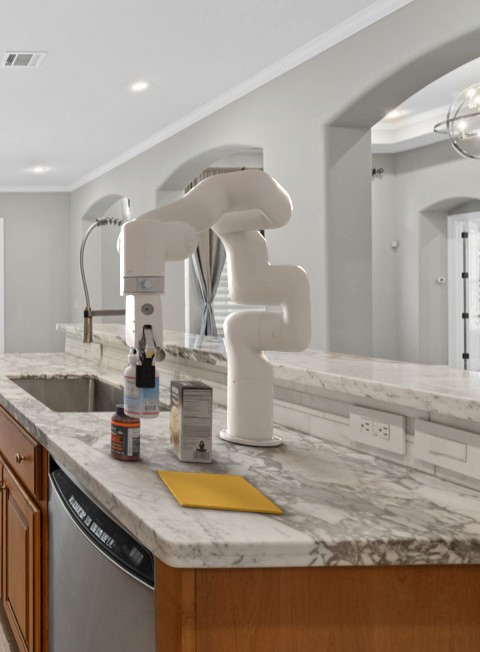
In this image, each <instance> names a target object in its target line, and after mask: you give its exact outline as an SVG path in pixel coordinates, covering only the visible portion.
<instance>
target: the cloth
mask: <svg viewBox="0 0 480 652" xmlns="http://www.w3.org/2000/svg"><path fill="white" fill-rule="evenodd" d="M156 473H157V474H158V476H159V477H160V478H161V480H162V481H163V482H164V484H165V485H166V487H167V488H168V489H169V490H170V492H171V493H172V495H173V496H174V497H175V499H176V500H177V502H178V503H179V505H180V506H181V507H189V508H200V509H201V508H202V509H213V510H226V511H227V510H228V511H238V512H248V513H249V512H251V513H262V514H276V515H277V514H278V515H284V511H282V509H280V508H279V507H278V506H277V505H276V504H275V503H274V502H272V501H271V500H270V499H268V498H267V497H266V496H265V495H264V494H263V493H261V492H260V491H259V490H258V489H257V488H255V487H254V486H253V485H252V484H251V483H250V482H249V481H248V480H246V479H245V478H244V477H243V476H241V475H234V474H219V473H203V472H191V471H175V470H173V471H172V470H162V469H161V470H159V469H157V470H156Z"/></svg>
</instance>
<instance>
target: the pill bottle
mask: <svg viewBox="0 0 480 652" xmlns="http://www.w3.org/2000/svg"><path fill="white" fill-rule="evenodd" d="M141 357H142V354H141ZM127 363H128V366H127V367H125V368H124V370H123V404H124V413H125V414H126V415H127V416H130V417H134V418H140V419H143V420H145V419H146V420H147V419H150V420H151V419H156V418H158V417H159V416H160V372H159V370H158V369H157V368H156V367H155V388H137V387H136V385H135V374H136V365H138V364H137V354H131V355H129V354H127Z"/></svg>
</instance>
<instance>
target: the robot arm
mask: <svg viewBox="0 0 480 652" xmlns="http://www.w3.org/2000/svg"><path fill="white" fill-rule="evenodd" d="M292 215H293V202H292V200H291V197H290V195H289V193H288V192H287V191H286V190H285V188H283V186H281V185H280V184H279V182H278V181H277V180H276V179H275V178H273V177H272V176H271V174H269V173H267V172H266V171H264V170H261V169H257V168H249V169H244V170H237V171H232V172H224V173H218V174H214V175H210V176H208V177H205V178H204V179H202V180H201V181H200V182H198V183H197V184H196V185H194V186H193V187H192V188H191V189H190V190H189V191H188V192H186V193H185V194H184V195H182V196H181V197H180V198H178V199H175V200H173V201H172V200H171V201H170V202H168V203H165V204H163V205H161V206H158V207H156V208H153V209H151V210H148V211H146V212H144V213H142V214H140V215H139V216H136V217H135V218H134V219H132V220H130V221H126V222H124V223H123V224H122V226H121V227H120V233H119V235H118V238H117V242H116V248H117V249H116V250H117V253H118V254H119V256H120V260H119V261H120V263H119V265H120V267H119V268H120V270H119V273H120V275H119V276H120V277H119V296H125V324H124V325H125V331H124V332H125V343H126V345H127V346H128V347H129V352H128V355H131V354H137V364H138V365H136V374H135V385H136V387H137V388H155V368H156V355H155V350H157V351H161V350H162V349H163V348H164V326H163V325H164V323H163V308H162V307H163V306H162V299H161V296H165V290H166V289H165V287H166V286H165V285H166V283H165V282H166V280H165V279H166V278H165V277H166V263H168V262H169V263H170V262H180V261H184V260H187V259H189V258H190V257H192V256H193V255H194V254H195V253H196V251H197V250H198V246H199V236H198V235H199V234H202V233H205V232H207V231H208V230H209V229H211V230H212V232H214V233H215V234H216V236H217V237H218V238H219V239H220V241H221V243H222V244H223V246H224V250H225V254H226V255H225V256H226V271H227V287H228V295H229V298H230V300H231V301H232V302H233V303H235V304H236V305H240V306H241V305H242V306H262V307H263V306H267V307H269V306H274V307H280V308H281V309H282V310H258V309H256V310H255V309H254V310H253V309H247V310H245V309H244V310H237V311H234V312H231V313H230V314H228V315H227V316H226V317H225V319H224V321H223V337H224V341H225V347H226V357H227V385H226V386H227V388H226V390H227V393H226V395H227V397H226V399H227V401H226V429H222V430H220V431H219V437H220V438H221V439H222V440H225V441H227V442H230V443H234V444H238V445H239V444H240V445H244V446H253V447H254V446H255V447H277V446H280V445H281V444H282V438H281V437H280V436H278V435H276V434H274V406H275V405H274V402H275V401H274V399H275V398H274V396H275V395H274V394H275V383H274V382H275V369H274V366H273V364H272V363H271V361H270V359H269V358H268V357H267V355H265V353H264V352H278V353H279V352H280V353H301V352H304V351H306V350H307V349H308V348H309V347H310V345H311V342H312V334H313V333H312V331H313V330H312V309H311V307H312V306H311V289H310V288H311V287H310V280H309V276H308V274H307V272H306V270H305V269H304V268H303V267H302V266H299V265H297V264H271V263H270V257H269V245H268V242H267V240H266V238H265V237H264V236H263V234H261V233H260V231H265V230H275V229H280V228H283V227H285V226H286V225H287V224H288V223H289V222H290V220H291V219H292ZM141 354H142V357H141Z"/></svg>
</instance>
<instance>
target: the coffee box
mask: <svg viewBox="0 0 480 652" xmlns="http://www.w3.org/2000/svg"><path fill="white" fill-rule="evenodd" d="M169 386H170V388H169V389H170V391H169V392H170V394H169V395H170V396H169V399H170V401H169V450H170V451H171V452H172V453H173V454H174V456H175V457H177V459H178V460H179V461H180V462H185V463H205V464H212V461H213V460H212V458H213V457H212V456H213V455H212V454H213V408H214V407H213V405H214V404H213V403H214V402H213V401H214V398H213V397H214V393H213V392H214V388H213V387H211V386H210V385H207V384H205V382H202V381H200V380H170V385H169Z"/></svg>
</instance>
